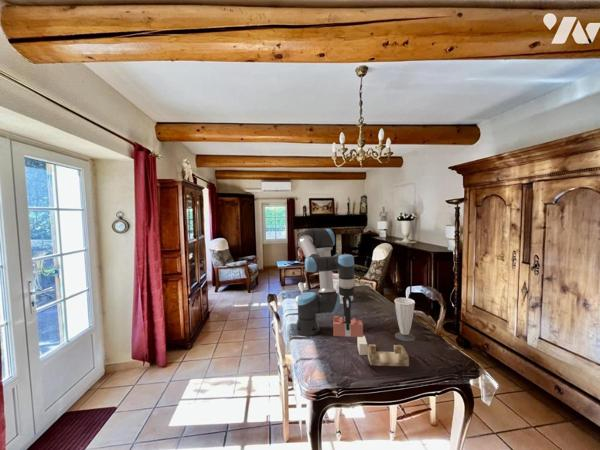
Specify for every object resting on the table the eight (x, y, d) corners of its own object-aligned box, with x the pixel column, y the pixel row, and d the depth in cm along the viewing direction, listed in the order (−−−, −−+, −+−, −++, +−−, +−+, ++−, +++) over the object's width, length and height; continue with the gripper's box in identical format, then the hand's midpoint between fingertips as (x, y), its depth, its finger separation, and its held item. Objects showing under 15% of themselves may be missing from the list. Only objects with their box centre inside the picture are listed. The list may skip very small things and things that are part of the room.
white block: (367, 355, 136) (367, 344, 135) (359, 355, 136) (359, 344, 136) (364, 346, 145) (364, 335, 144) (357, 346, 145) (357, 335, 145)
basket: (355, 303, 212) (355, 280, 211) (326, 304, 212) (325, 281, 211) (350, 293, 236) (349, 273, 236) (323, 294, 237) (323, 273, 236)
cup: (391, 332, 160) (391, 297, 159) (410, 332, 160) (410, 297, 159) (398, 341, 149) (398, 304, 148) (418, 341, 148) (418, 304, 147)
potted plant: (306, 313, 193) (305, 280, 191) (293, 311, 199) (292, 278, 197) (314, 308, 203) (313, 276, 202) (301, 305, 209) (301, 274, 208)
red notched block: (333, 335, 127) (333, 319, 127) (333, 330, 133) (333, 314, 132) (363, 337, 125) (362, 320, 125) (361, 331, 131) (361, 315, 131)
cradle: (370, 365, 126) (370, 355, 126) (366, 353, 137) (366, 344, 137) (409, 367, 125) (409, 356, 124) (402, 354, 136) (402, 345, 135)
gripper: (356, 292, 118) (357, 342, 119) (352, 281, 137) (353, 324, 138) (339, 292, 119) (340, 341, 120) (338, 281, 138) (339, 324, 139)
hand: (347, 332), depth 129 cm, fingers closed on red notched block, 6 cm apart
